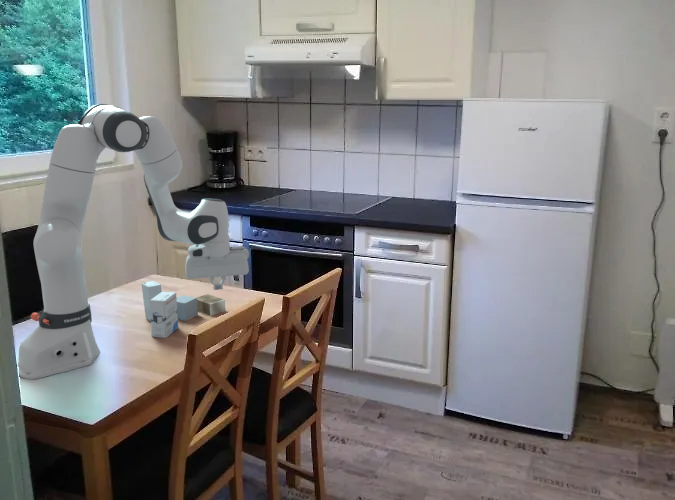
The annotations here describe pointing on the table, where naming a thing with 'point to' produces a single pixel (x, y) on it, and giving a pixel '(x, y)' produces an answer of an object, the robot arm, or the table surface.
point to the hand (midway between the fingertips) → (218, 289)
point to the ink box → (164, 314)
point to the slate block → (186, 307)
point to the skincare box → (149, 295)
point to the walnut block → (210, 304)
